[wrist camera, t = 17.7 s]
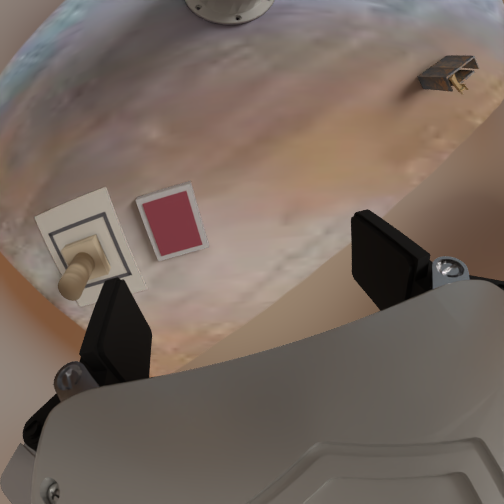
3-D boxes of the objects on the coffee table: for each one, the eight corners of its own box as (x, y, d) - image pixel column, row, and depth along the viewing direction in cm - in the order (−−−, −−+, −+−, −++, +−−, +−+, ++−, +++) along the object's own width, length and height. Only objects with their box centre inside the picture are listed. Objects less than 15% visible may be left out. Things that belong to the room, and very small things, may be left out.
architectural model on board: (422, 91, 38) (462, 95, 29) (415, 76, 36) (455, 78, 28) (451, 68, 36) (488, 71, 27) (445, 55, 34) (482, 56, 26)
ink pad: (137, 197, 38) (135, 200, 36) (190, 180, 38) (190, 183, 37) (159, 256, 43) (158, 262, 41) (208, 242, 43) (209, 247, 42)
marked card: (35, 216, 35) (34, 217, 35) (106, 186, 36) (105, 187, 36) (80, 305, 44) (80, 307, 44) (147, 288, 45) (147, 289, 45)
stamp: (66, 243, 38) (43, 275, 30) (96, 232, 38) (76, 264, 30) (82, 274, 41) (64, 311, 33) (111, 265, 41) (97, 302, 33)
